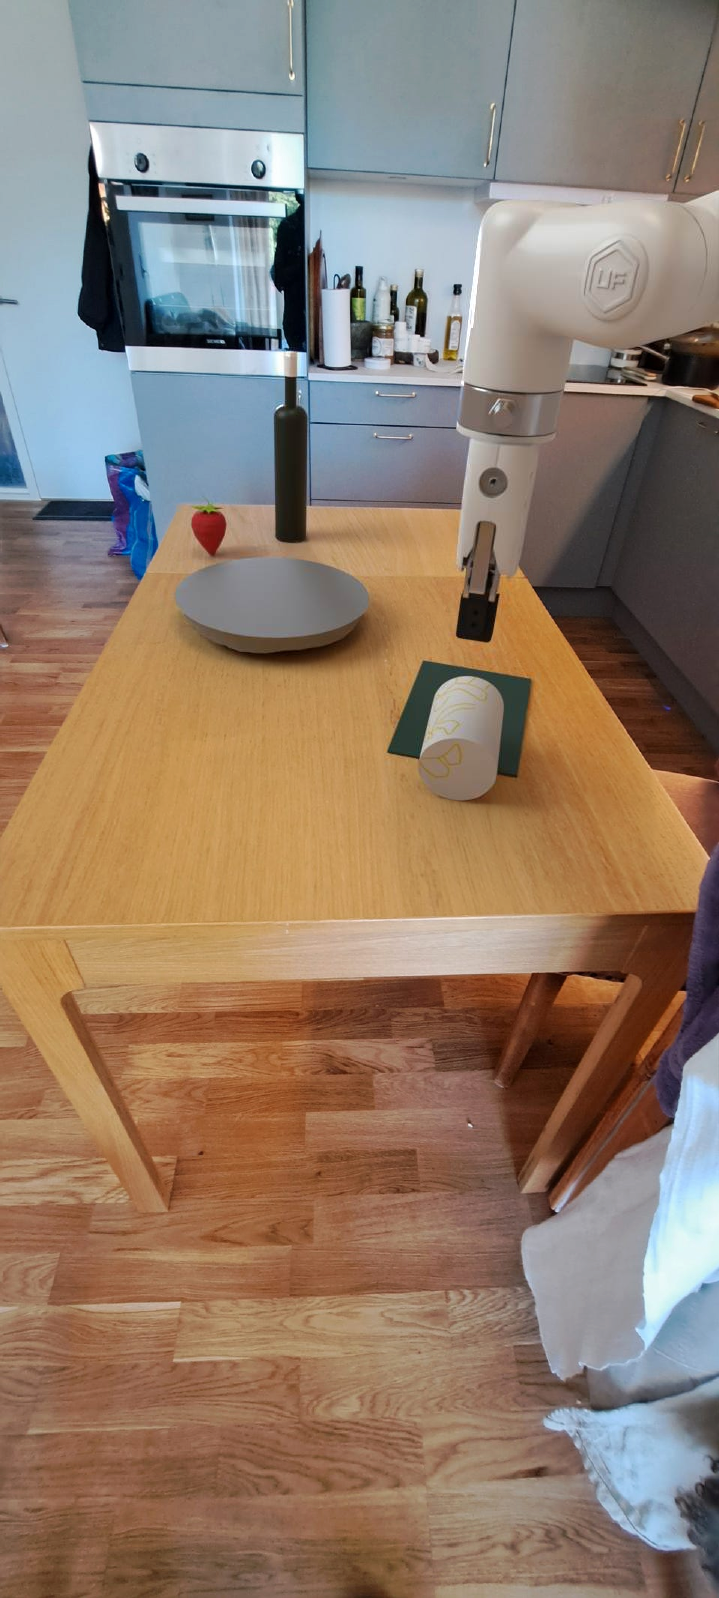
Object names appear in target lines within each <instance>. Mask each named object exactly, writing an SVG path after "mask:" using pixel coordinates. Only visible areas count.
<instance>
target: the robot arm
mask: <svg viewBox="0 0 719 1598" xmlns="http://www.w3.org/2000/svg"><path fill="white" fill-rule="evenodd" d="M476 245H477V246H476V254H475V263H474V272H473V281H472V290H471V297H470V307H469V316H468V324H467V331H466V340H465V341H466V342H465V351H464V357H463V358H464V359H463V367H462V368H463V370H462V376H461V385H460V392H459V393H460V394H459V402H458V412H457V420H456V427H455V430H456V432H457V433H459V434H460V435H462V436H464V437H467V438H469V443H468V444H469V445H468V450H467V451H468V452H467V459H466V464H465V465H466V467H465V474H464V482H463V490H462V497H461V506H460V515H459V525H458V535H457V547H456V559H455V560H456V561H455V565H456V567H457V569H458V570H459V571H460V572H462V573H463V572H464V570H465V575H464V583H463V589H462V593H461V594H460V601H459V607H458V614H457V622H456V628H455V629H456V630H455V636H456V638H458V639H461V640H467V641H474V642H478V643H479V642H481V643H490V642H491V641H492V637H493V634H494V630H495V624H496V618H497V612H498V606H499V600H500V593H498V591H499V586H500V580H501V575H503V576H506V579H512V578H513V577H515V575H517V572H518V570H519V569H518V568H519V565H520V561H521V558H522V557H521V556H522V552H523V547H524V543H525V538H526V531H527V527H528V520H529V515H530V510H531V505H532V499H533V494H534V487H535V482H536V477H537V469H538V463H539V454H540V447H541V446H540V445H541V444H546V443H550V442H552V441H554V440H555V439H556V435H557V430H558V425H559V420H560V419H559V418H560V413H561V408H562V404H563V398H564V392H565V388H566V382H567V377H568V372H569V368H570V362H571V356H572V352H573V346H574V341H578V342H581V343H584V344H587V345H590V346H593V347H597V348H602V349H608V350H626V349H634V348H636V347H640V346H644V345H647V344H650V343H653V342H657V341H661V340H666V339H670V338H674V337H677V336H679V335H683V334H685V333H689V332H692V331H695V330H698V329H701V328H704V327H707V326H710V325H713V324H716V323H719V189H717V190H715V191H713V192H709V193H708V194H705V195H703V196H700V197H698V198H695V199H691V200H689V201H687V202H677V201H671V200H658V199H652V198H651V199H650V198H637V199H636V198H635V199H626V200H618V201H612V202H606V203H597V204H591V205H581V204H578V203H574V202H568V201H567V202H566V201H557V200H546V199H545V200H543V199H505V200H500V201H498V202H495V203H493V204H492V205H490V206H489V207H488V209H487V210H486V211H485V213H484V214H483V216H482V219H481V222H480V226H479V231H478V237H477V244H476Z"/></svg>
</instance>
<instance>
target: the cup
mask: <svg viewBox="0 0 719 1598" xmlns="http://www.w3.org/2000/svg"><path fill="white" fill-rule="evenodd" d="M503 711H504V703H503V699H502V697H501V694H500V693H499V691H498V690H497V689H496V688H495V687H494V686H493V685H492V684H491V683H489V682H487V681H486V680H483V679H481V678H477V677H472V676H462V677H457V678H454V679H451V680H449V681H447V682H446V683H444V684H443V685H442V686H441V687H440V688H439V689H438V691H437V692H436V694H435V697H434V700H433V704H432V708H431V713H430V717H429V721H428V725H427V729H426V733H425V738H424V742H423V746H422V750H421V754H420V759H419V758H418V763H417V771H418V775H419V777H420V780H421V782H422V783H423V784H424V786H425V787H426V788H427V789H428V790H429V791H431V793H433V794H435V795H437V796H439V797H441V798H444V799H447V800H452V801H469V800H473V799H477V798H479V797H481V796H483V795H484V794H486V793H487V792H488V791H489V790H491V788H492V787H493V786H494V784H495V783H496V780H497V776H498V774H497V768H498V758H499V749H500V740H501V730H502V721H503Z"/></svg>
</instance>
